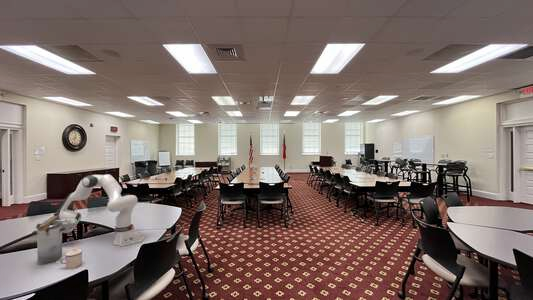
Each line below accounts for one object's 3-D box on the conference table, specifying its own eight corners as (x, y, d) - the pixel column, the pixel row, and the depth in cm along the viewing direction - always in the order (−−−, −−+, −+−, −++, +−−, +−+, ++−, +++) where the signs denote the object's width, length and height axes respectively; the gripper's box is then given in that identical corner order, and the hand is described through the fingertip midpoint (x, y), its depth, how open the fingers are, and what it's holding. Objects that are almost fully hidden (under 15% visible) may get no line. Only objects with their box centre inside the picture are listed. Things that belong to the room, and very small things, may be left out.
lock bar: (59, 218, 179) (59, 212, 179) (44, 230, 154) (44, 223, 154) (54, 218, 178) (54, 212, 178) (38, 230, 153) (38, 224, 153)
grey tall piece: (68, 253, 177) (68, 216, 176) (62, 261, 164) (62, 222, 163) (38, 258, 169) (37, 220, 168) (29, 267, 156) (28, 226, 155)
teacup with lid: (83, 260, 166) (83, 244, 165) (81, 266, 158) (81, 249, 158) (61, 265, 159) (60, 248, 159) (58, 271, 151) (58, 254, 151)
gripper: (47, 222, 189) (41, 218, 178) (78, 219, 199) (75, 215, 188) (46, 230, 187) (39, 227, 176) (77, 227, 196) (73, 223, 185)
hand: (58, 221), depth 182 cm, fingers open, 8 cm apart
